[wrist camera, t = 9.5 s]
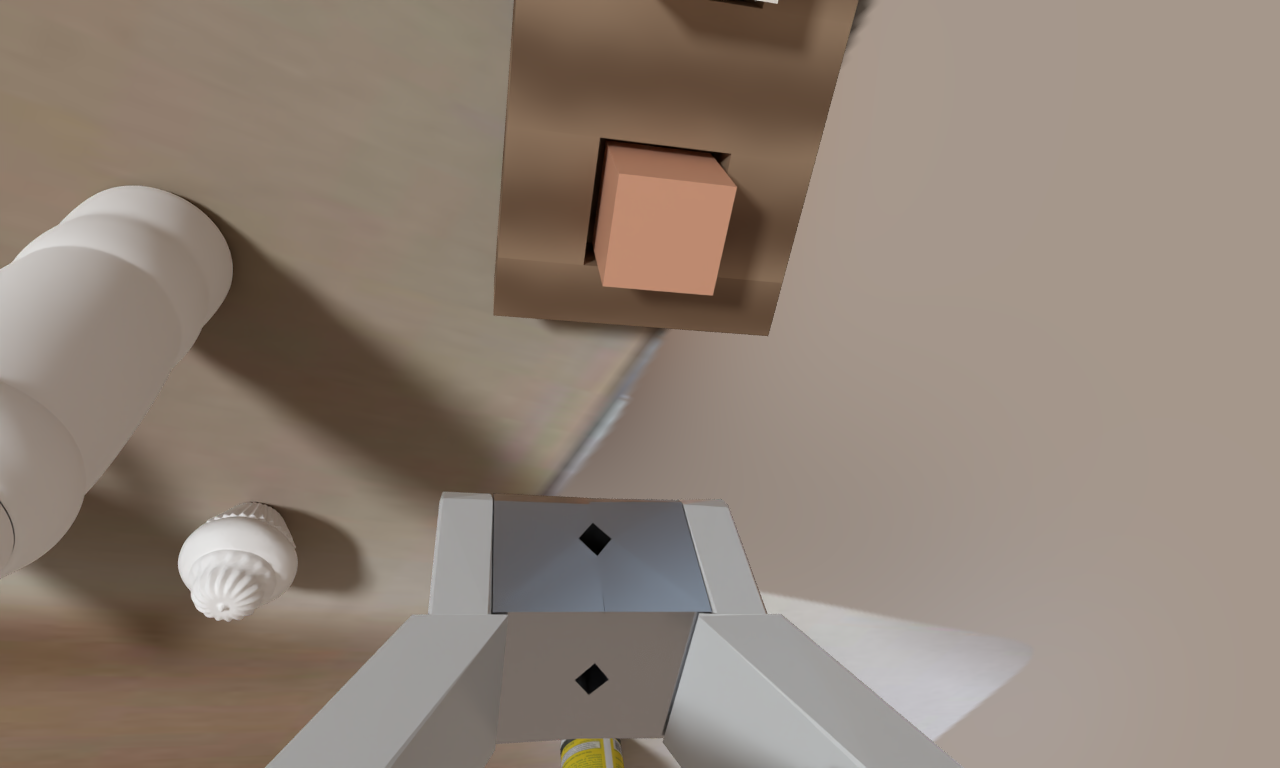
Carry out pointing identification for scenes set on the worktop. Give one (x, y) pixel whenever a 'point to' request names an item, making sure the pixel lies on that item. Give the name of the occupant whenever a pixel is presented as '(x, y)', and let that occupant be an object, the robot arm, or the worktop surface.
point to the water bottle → (93, 348)
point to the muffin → (238, 561)
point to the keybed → (660, 143)
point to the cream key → (771, 0)
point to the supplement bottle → (591, 753)
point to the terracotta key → (661, 218)
